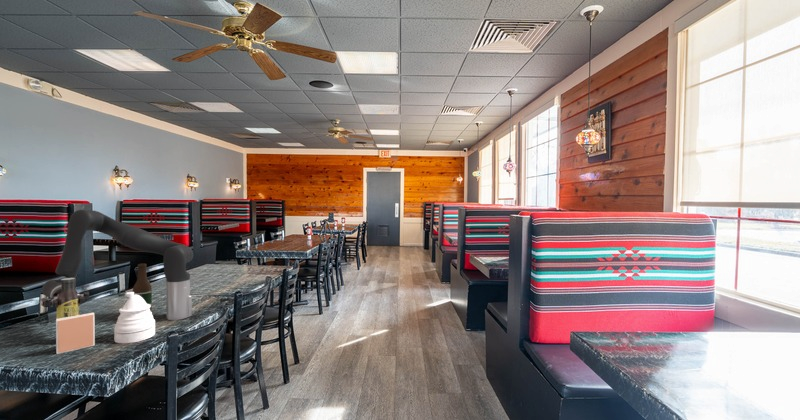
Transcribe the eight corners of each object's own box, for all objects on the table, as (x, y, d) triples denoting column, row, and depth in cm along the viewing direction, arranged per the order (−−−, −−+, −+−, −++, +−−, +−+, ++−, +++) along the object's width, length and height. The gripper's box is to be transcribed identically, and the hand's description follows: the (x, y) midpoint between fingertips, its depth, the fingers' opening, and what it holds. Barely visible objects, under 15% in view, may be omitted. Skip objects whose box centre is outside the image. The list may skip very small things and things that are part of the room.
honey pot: (130, 345, 128) (130, 297, 128) (106, 340, 132) (105, 294, 131) (163, 332, 140) (162, 289, 140) (140, 329, 144) (139, 286, 144)
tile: (94, 344, 129) (93, 312, 128) (94, 345, 127) (94, 313, 127) (56, 352, 121) (55, 319, 121) (56, 354, 120) (56, 320, 120)
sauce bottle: (65, 334, 127) (63, 281, 127) (52, 333, 129) (50, 280, 128) (84, 327, 134) (82, 277, 133) (72, 326, 135) (70, 276, 134)
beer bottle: (155, 313, 164) (155, 263, 164) (136, 318, 157) (135, 266, 157) (148, 310, 168) (147, 262, 168) (129, 315, 162) (128, 264, 161)
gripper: (38, 289, 135) (41, 297, 124) (87, 282, 146) (94, 289, 135) (38, 308, 135) (41, 317, 124) (87, 300, 146) (94, 308, 135)
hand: (69, 302), depth 130 cm, fingers closed on sauce bottle, 6 cm apart
